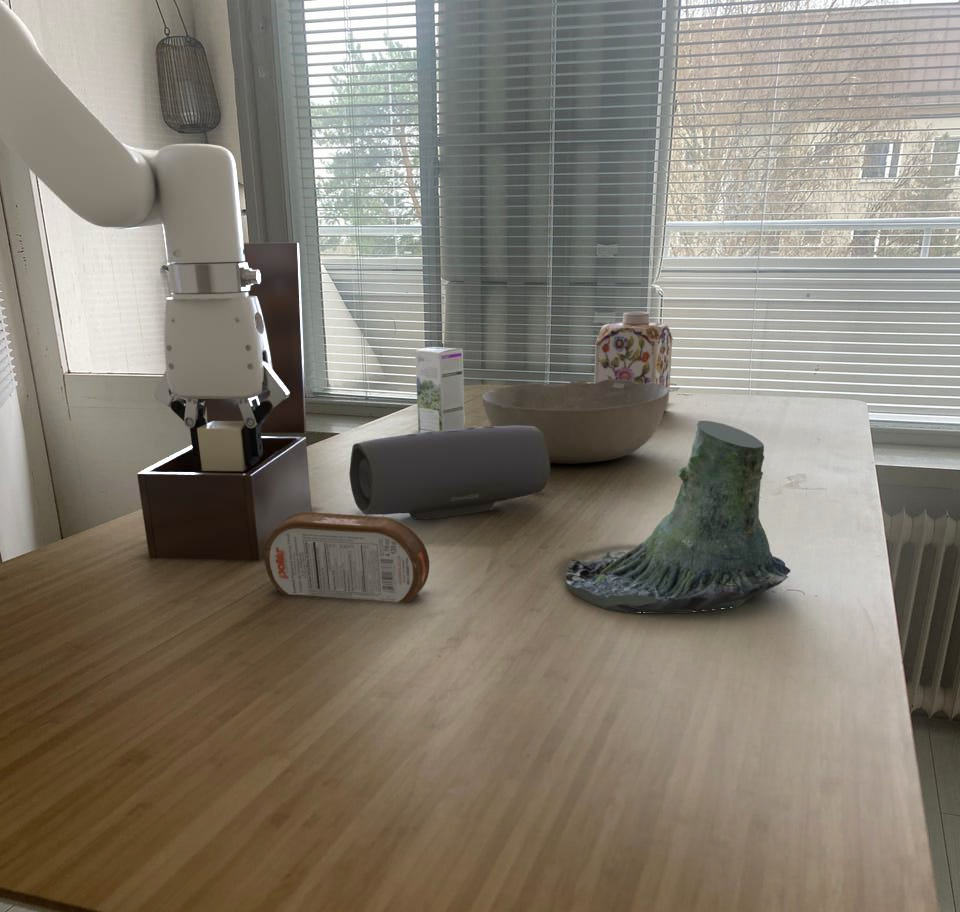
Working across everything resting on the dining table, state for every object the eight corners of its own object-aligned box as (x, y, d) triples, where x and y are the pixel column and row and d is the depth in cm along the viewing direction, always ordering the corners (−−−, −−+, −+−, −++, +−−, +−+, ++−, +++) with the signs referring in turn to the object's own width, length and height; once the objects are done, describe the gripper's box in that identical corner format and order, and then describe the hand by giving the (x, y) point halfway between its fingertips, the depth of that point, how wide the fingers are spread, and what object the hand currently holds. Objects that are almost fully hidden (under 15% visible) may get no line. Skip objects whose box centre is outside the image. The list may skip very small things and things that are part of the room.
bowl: (687, 446, 154) (691, 381, 150) (628, 483, 131) (632, 408, 127) (529, 433, 165) (529, 372, 162) (450, 465, 143) (448, 396, 139)
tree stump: (601, 549, 105) (652, 386, 97) (779, 620, 99) (849, 451, 91) (532, 593, 90) (586, 403, 82) (737, 681, 83) (817, 483, 75)
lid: (297, 242, 107) (310, 248, 112) (195, 243, 108) (212, 249, 113) (304, 433, 112) (317, 431, 117) (207, 432, 113) (223, 430, 118)
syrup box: (466, 438, 162) (464, 347, 156) (441, 443, 158) (439, 351, 152) (441, 434, 165) (439, 345, 160) (416, 439, 161) (413, 348, 156)
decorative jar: (669, 410, 186) (675, 310, 179) (654, 420, 176) (660, 315, 169) (609, 406, 190) (613, 309, 183) (590, 416, 180) (594, 314, 173)
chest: (260, 571, 98) (250, 475, 95) (150, 568, 100) (136, 473, 96) (312, 519, 116) (306, 436, 113) (218, 517, 118) (209, 435, 114)
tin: (431, 606, 89) (429, 516, 85) (422, 618, 86) (419, 525, 82) (278, 594, 92) (269, 507, 88) (263, 606, 89) (254, 516, 86)
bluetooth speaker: (516, 493, 127) (517, 415, 123) (551, 509, 119) (553, 427, 115) (350, 514, 118) (344, 431, 114) (376, 534, 110) (371, 445, 106)
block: (201, 471, 103) (196, 428, 101) (217, 462, 107) (212, 420, 105) (243, 471, 102) (238, 428, 101) (256, 462, 107) (252, 421, 105)
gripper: (301, 280, 100) (315, 457, 107) (144, 281, 102) (168, 455, 109) (279, 283, 93) (295, 472, 100) (111, 285, 95) (139, 470, 102)
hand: (229, 461), depth 105 cm, fingers closed on block, 4 cm apart
